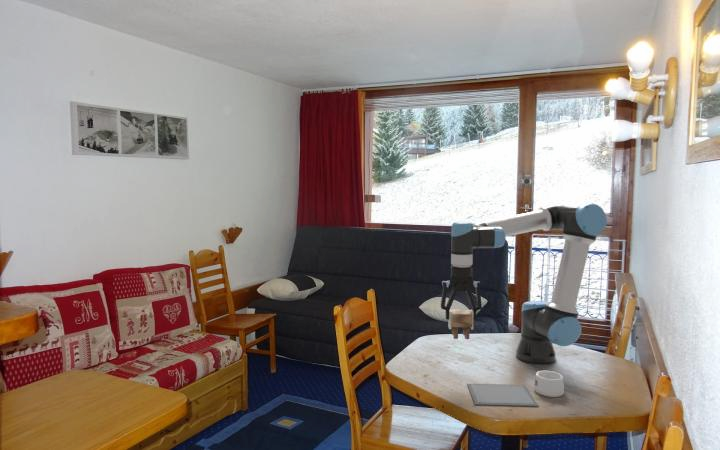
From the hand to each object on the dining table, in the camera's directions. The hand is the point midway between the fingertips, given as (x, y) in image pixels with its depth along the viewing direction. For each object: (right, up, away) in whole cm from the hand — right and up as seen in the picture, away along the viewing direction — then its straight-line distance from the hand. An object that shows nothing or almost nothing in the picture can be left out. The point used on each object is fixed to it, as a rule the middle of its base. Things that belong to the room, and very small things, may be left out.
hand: (460, 328), depth 179 cm
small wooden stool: (0, -3, 0) cm, 3 cm away
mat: (+11, -20, -12) cm, 26 cm away
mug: (+28, -20, -8) cm, 36 cm away
